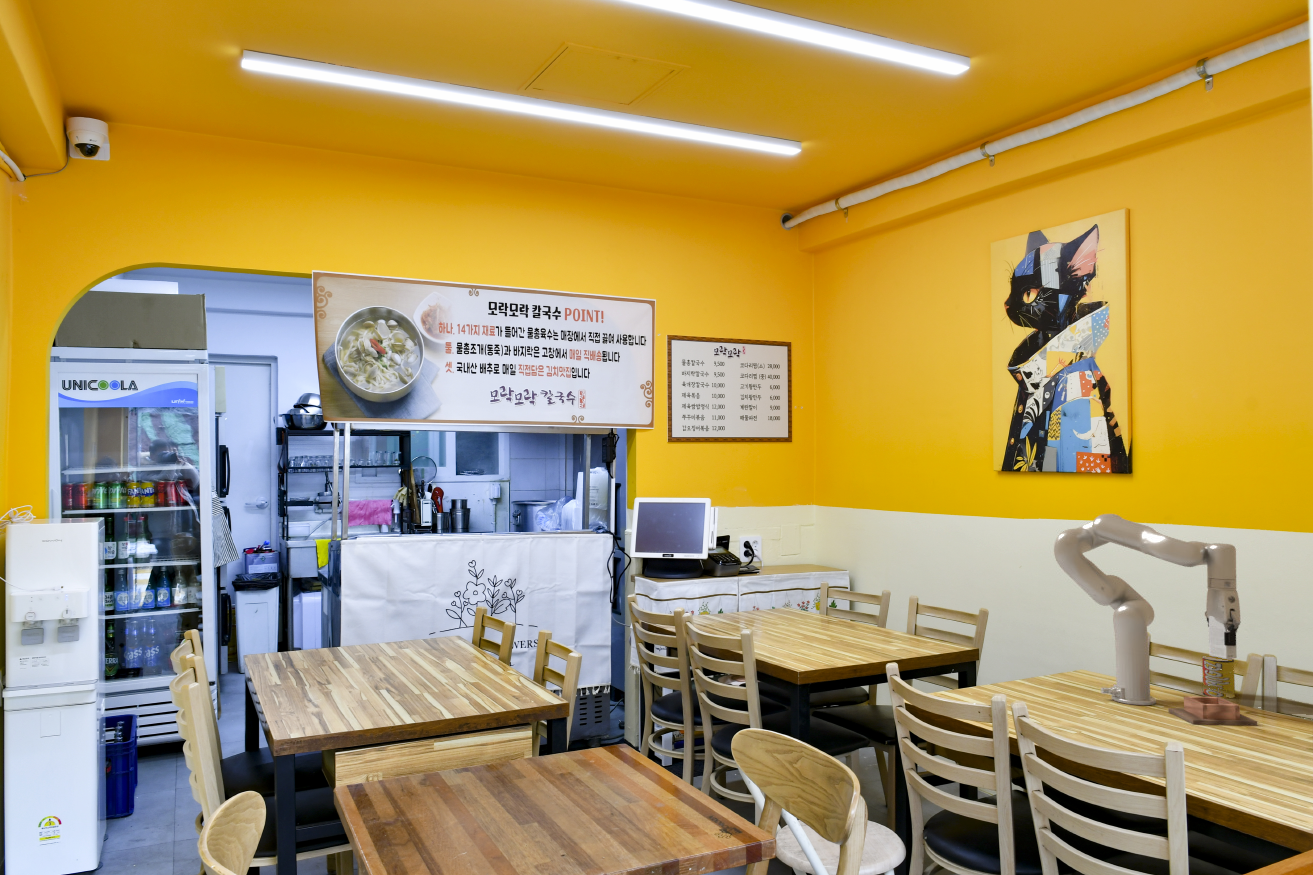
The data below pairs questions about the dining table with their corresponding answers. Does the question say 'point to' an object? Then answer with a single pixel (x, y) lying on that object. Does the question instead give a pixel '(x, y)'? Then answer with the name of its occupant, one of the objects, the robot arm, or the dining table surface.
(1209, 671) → the beverage can
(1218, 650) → the skincare box
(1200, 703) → the caddy
